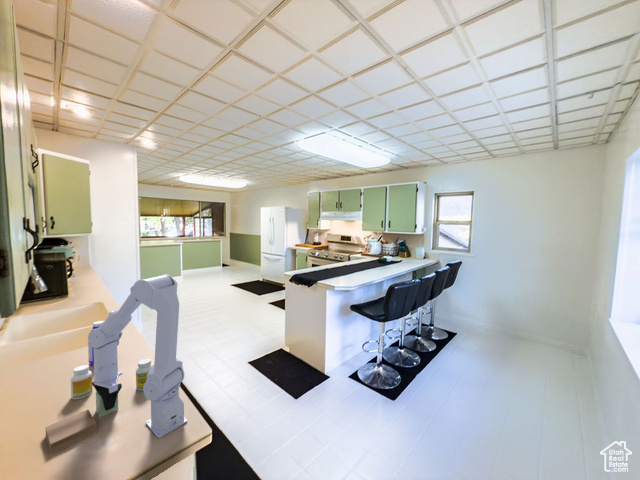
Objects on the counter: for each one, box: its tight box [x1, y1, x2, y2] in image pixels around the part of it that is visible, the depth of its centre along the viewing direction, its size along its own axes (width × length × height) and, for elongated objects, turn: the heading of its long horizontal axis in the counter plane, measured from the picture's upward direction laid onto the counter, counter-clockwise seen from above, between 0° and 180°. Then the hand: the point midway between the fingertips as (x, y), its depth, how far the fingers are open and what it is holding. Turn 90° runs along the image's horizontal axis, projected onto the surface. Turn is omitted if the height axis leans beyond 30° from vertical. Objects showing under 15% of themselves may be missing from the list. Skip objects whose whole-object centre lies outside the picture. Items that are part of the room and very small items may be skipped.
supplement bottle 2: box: [135, 358, 154, 392], centre depth 93 cm, size 5×5×10 cm
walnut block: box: [45, 409, 97, 455], centre depth 72 cm, size 9×9×3 cm
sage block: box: [95, 391, 119, 418], centre depth 81 cm, size 4×4×6 cm
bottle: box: [87, 320, 105, 366], centre depth 110 cm, size 7×6×17 cm
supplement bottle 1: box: [70, 364, 93, 400], centre depth 88 cm, size 5×5×10 cm
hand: (107, 405), depth 81 cm, fingers open, 5 cm apart
